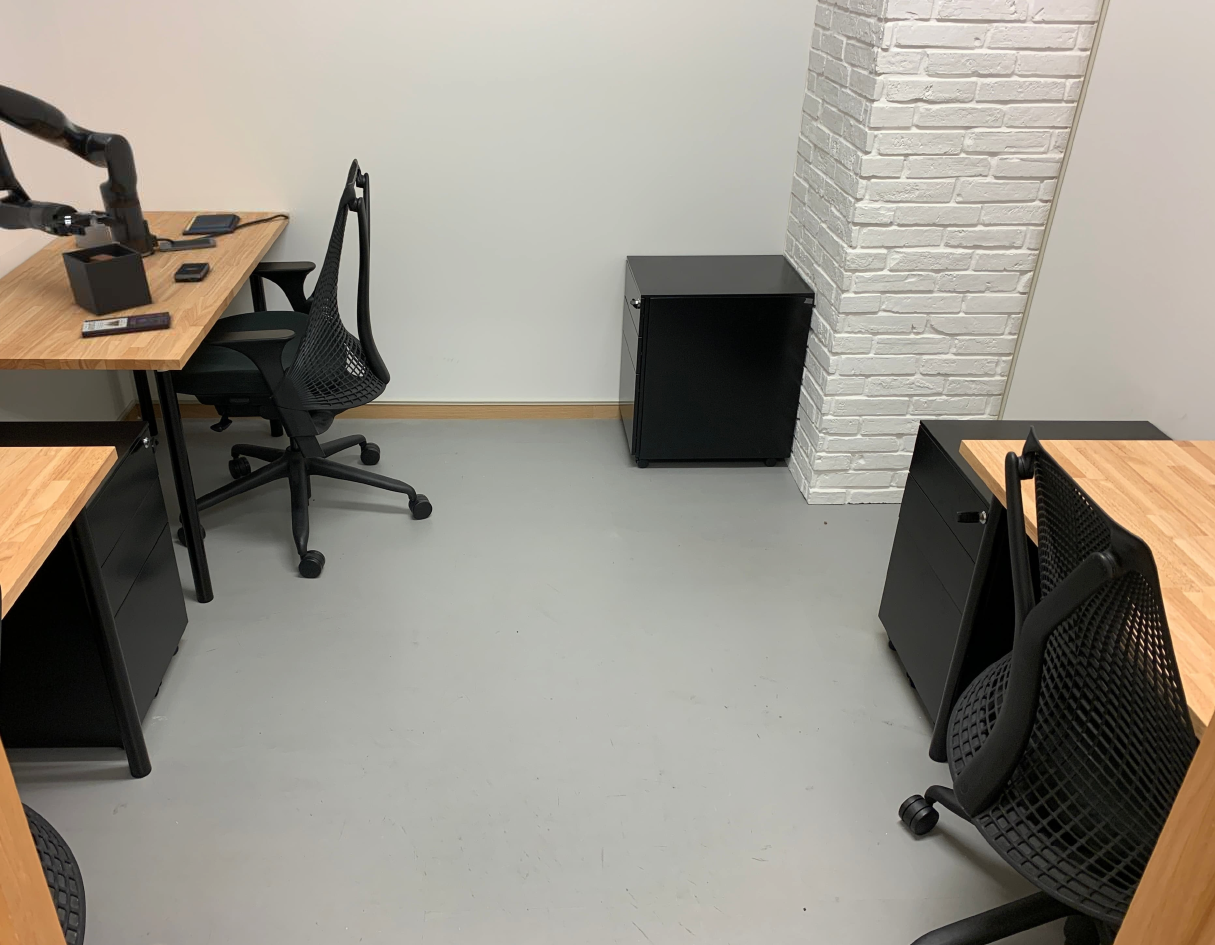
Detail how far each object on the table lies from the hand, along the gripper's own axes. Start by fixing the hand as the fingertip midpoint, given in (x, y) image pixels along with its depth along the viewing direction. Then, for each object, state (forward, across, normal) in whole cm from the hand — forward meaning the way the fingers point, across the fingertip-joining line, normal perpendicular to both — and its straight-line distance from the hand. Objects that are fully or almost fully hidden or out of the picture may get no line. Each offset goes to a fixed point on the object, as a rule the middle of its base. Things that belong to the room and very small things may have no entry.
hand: (99, 227), depth 219 cm
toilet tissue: (-54, -34, -20) cm, 67 cm away
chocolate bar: (+15, +10, -19) cm, 26 cm away
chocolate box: (-2, 0, -18) cm, 19 cm away
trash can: (-2, 0, -19) cm, 19 cm away
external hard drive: (-3, -25, -20) cm, 32 cm away
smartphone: (-27, -45, -20) cm, 56 cm away
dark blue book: (-39, -64, -20) cm, 78 cm away
